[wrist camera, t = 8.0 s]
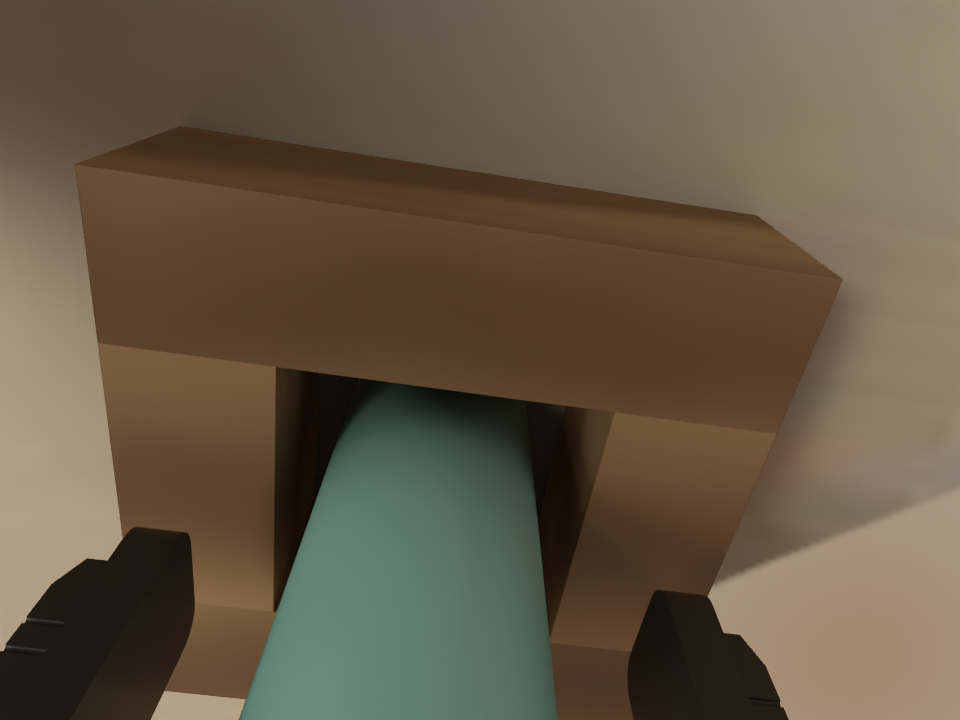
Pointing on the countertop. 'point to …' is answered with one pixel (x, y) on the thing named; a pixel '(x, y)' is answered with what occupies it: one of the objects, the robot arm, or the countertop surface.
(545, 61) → the countertop surface
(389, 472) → the medium dowel
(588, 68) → the countertop surface
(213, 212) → the brown wooden square frame
